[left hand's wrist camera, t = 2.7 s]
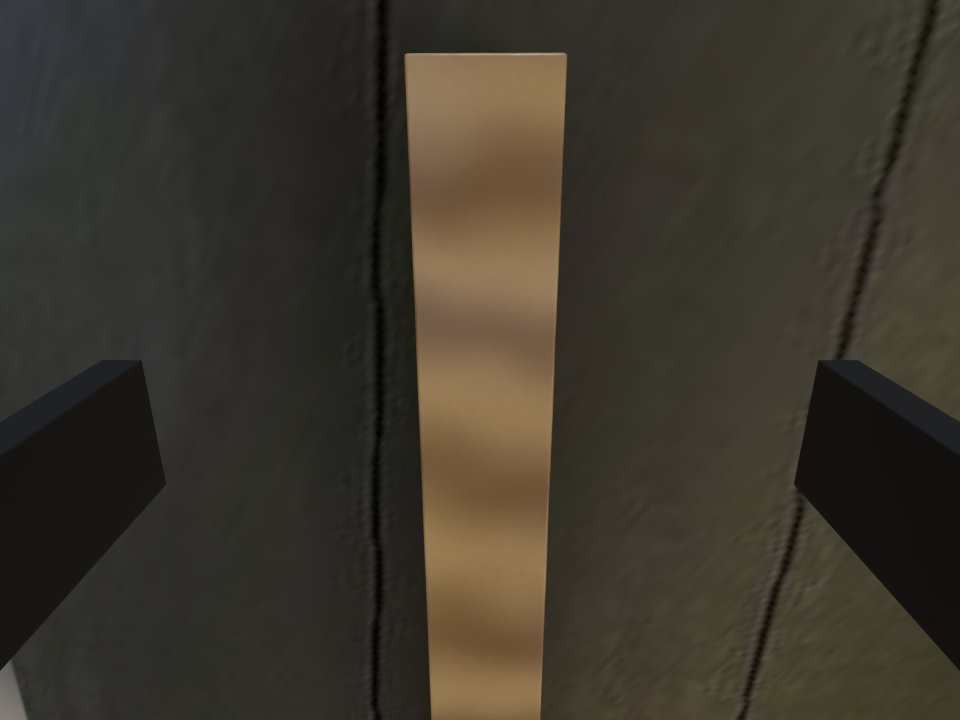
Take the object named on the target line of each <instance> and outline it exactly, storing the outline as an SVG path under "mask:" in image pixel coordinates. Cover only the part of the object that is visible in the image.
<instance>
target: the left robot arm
mask: <svg viewBox="0 0 960 720" xmlns="http://www.w3.org/2000/svg"><path fill="white" fill-rule="evenodd" d="M165 485H166V482H165V477H164V472H163V467H162V462H161V457H160V451H159V446H158V441H157V436H156V431H155V426H154V421H153V416H152V411H151V406H150V401H149V396H148V391H147V386H146V381H145V376H144V371H143V366H142V361H141V360H102V361H100V362H99V363H97V364H95V365H94V366H92V367H90V368H89V369H87V370H85V371H84V372H82V373H80V374H79V375H77V376H75V377H74V378H72V379H71V380H69V381H67V382H66V383H64V384H62V385H61V386H59V387H57V388H56V389H54V390H52V391H51V392H49V393H47V394H46V395H44V396H43V397H41V398H39V399H38V400H36V401H34V402H33V403H31V404H29V405H28V406H26V407H24V408H23V409H21V410H19V411H18V412H16V413H15V414H13V415H11V416H10V417H8V418H6V419H5V420H3V421H1V422H0V670H1V669H2V668H3V667H4V666H5V665H6V664H7V663H8V661H9V660H10V659H11V658H12V657H13V656H14V655H15V654H16V652H17V651H18V650H19V649H20V648H21V647H22V646H23V645H24V643H25V642H26V641H27V640H28V639H29V638H30V637H31V636H32V634H33V633H34V632H35V631H36V630H37V629H38V628H39V627H40V625H41V624H42V623H43V622H44V621H45V620H46V619H47V618H48V616H49V615H50V614H51V613H52V612H53V611H54V610H55V609H56V607H57V606H58V605H59V604H60V603H61V602H62V601H63V600H64V598H65V597H66V596H67V595H68V594H69V593H70V592H71V591H72V589H73V588H74V587H75V586H76V585H77V584H78V583H79V582H80V580H81V579H82V578H83V577H84V576H85V575H86V574H87V573H88V571H89V570H90V569H91V568H92V567H93V566H94V565H95V564H96V562H97V561H98V560H99V559H100V558H101V557H102V556H103V555H104V553H105V552H106V551H107V550H108V549H109V548H110V547H111V546H112V544H113V543H114V542H115V541H116V540H117V539H118V538H119V537H120V535H121V534H122V533H123V532H124V531H125V530H126V529H127V528H128V526H129V525H130V524H131V523H132V522H133V521H134V520H135V519H136V517H137V516H138V515H139V514H140V513H141V512H142V511H143V510H144V508H145V507H146V506H147V505H148V504H149V503H150V502H151V501H152V499H153V498H154V497H155V496H156V495H157V494H158V493H159V492H160V490H161V489H162V488H163V487H164V486H165ZM794 485H795V486H796V487H797V488H798V489H799V490H800V492H801V493H802V494H803V495H804V496H805V497H806V498H807V499H808V501H809V502H810V503H811V504H812V505H813V506H814V507H815V508H816V510H817V511H818V512H819V513H820V514H821V515H822V516H823V517H824V519H825V520H826V521H827V522H828V523H829V524H830V525H831V526H832V528H833V529H834V530H835V531H836V532H837V533H838V534H839V535H840V537H841V538H842V539H843V540H844V541H845V542H846V543H847V544H848V546H849V547H850V548H851V549H852V550H853V551H854V552H855V553H856V555H857V556H858V557H859V558H860V559H861V560H862V561H863V562H864V564H865V565H866V566H867V567H868V568H869V569H870V570H871V571H872V573H873V574H874V575H875V576H876V577H877V578H878V579H879V580H880V582H881V583H882V584H883V585H884V586H885V587H886V588H887V589H888V591H889V592H890V593H891V594H892V595H893V596H894V597H895V598H896V600H897V601H898V602H899V603H900V604H901V605H902V606H903V607H904V609H905V610H906V611H907V612H908V613H909V614H910V615H911V616H912V618H913V619H914V620H915V621H916V622H917V623H918V624H919V625H920V627H921V628H922V629H923V630H924V631H925V632H926V633H927V634H928V636H929V637H930V638H931V639H932V640H933V641H934V642H935V643H936V645H937V646H938V647H939V648H940V649H941V650H942V651H943V652H944V654H945V655H946V656H947V657H948V658H949V659H950V660H951V661H952V663H953V664H954V665H955V666H956V667H957V668H958V669H959V670H960V422H959V421H957V420H955V419H954V418H952V417H950V416H949V415H947V414H945V413H944V412H942V411H941V410H939V409H937V408H936V407H934V406H932V405H931V404H929V403H927V402H926V401H924V400H922V399H921V398H919V397H917V396H916V395H914V394H913V393H911V392H909V391H908V390H906V389H904V388H903V387H901V386H899V385H898V384H896V383H894V382H893V381H891V380H889V379H888V378H886V377H885V376H883V375H881V374H880V373H878V372H876V371H875V370H873V369H871V368H870V367H868V366H866V365H865V364H863V363H861V362H860V361H858V360H819V361H818V366H817V371H816V376H815V381H814V386H813V391H812V396H811V401H810V406H809V411H808V416H807V421H806V426H805V431H804V436H803V441H802V446H801V451H800V457H799V462H798V467H797V472H796V477H795V482H794Z"/></svg>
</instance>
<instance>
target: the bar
mask: <svg viewBox="0 0 960 720" xmlns="http://www.w3.org/2000/svg"><path fill="white" fill-rule="evenodd" d="M404 60H405V85H406V109H407V134H408V159H409V183H410V208H411V232H412V257H413V282H414V306H415V331H416V355H417V380H418V404H419V429H420V454H421V478H422V503H423V527H424V552H425V576H426V601H427V626H428V650H429V675H430V699H431V720H540V716H541V691H542V667H543V642H544V617H545V592H546V568H547V543H548V518H549V494H550V469H551V444H552V419H553V395H554V370H555V345H556V320H557V296H558V271H559V246H560V222H561V197H562V172H563V147H564V123H565V98H566V73H567V54H566V53H407V54H405V57H404Z"/></svg>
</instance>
